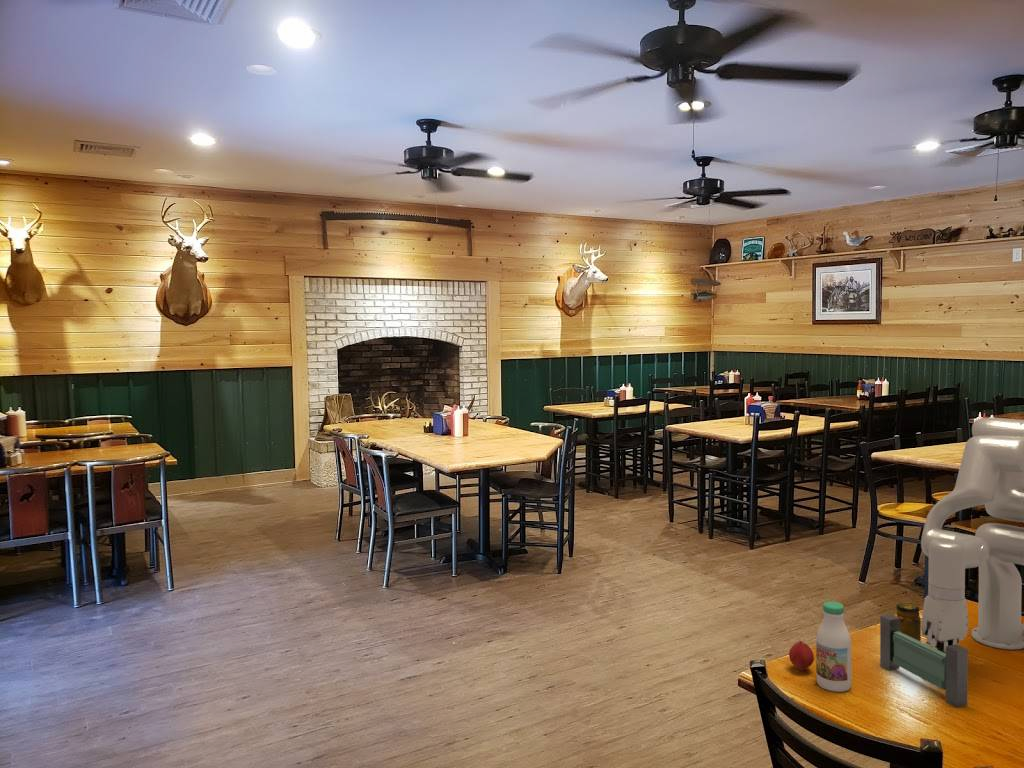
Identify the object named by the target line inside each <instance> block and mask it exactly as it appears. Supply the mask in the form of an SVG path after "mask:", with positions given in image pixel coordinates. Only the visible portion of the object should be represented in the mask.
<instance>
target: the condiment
mask: <svg viewBox="0 0 1024 768" xmlns="http://www.w3.org/2000/svg"><path fill="white" fill-rule="evenodd" d="M894 616H895V617H898V618H899V632H901V633H903V634H905V635H908V636H910V637H912V638H914V639H916V640H918V641H920V642H921V638H922V637H921V635H922V631H921V626H922V617H920V608H919V606H918V605H916V604H914V603H911V602H899V603H897V604H896V613H895V614H894Z"/></svg>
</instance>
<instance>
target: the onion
mask: <svg viewBox="0 0 1024 768" xmlns="http://www.w3.org/2000/svg"><path fill="white" fill-rule="evenodd" d="M788 657H789V661H790V663H791V664H792V665H793V666H794V667H795V668H796V669H798V670H799V671H802V672H803V671H805V670H806V669H808V668H809V667H811V666H812V665H813V663H814V660H815V657H814V652H813V650H812V649H811V646H809V645H808V644H807V643H805V642H804V640H803V639H799V641H798V642H795V643H794V644H793V645H792V646H791V647H790V649H789V652H788Z"/></svg>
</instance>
